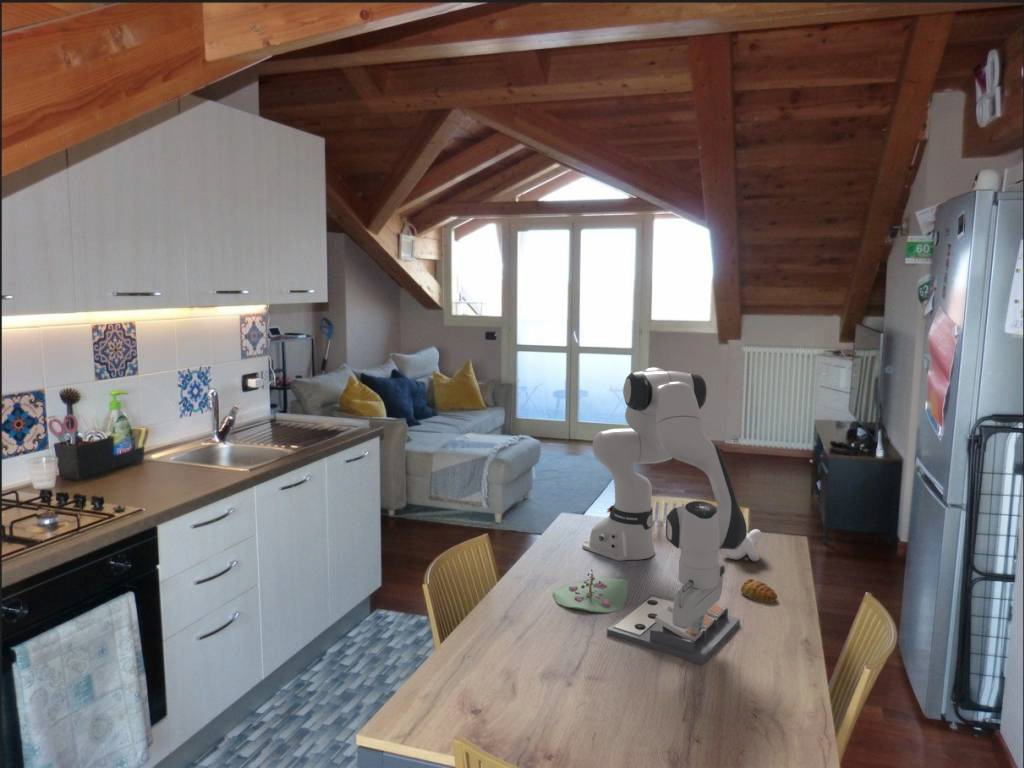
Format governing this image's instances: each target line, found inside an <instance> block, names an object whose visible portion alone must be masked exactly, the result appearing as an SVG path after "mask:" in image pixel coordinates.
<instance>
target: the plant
mask: <svg viewBox="0 0 1024 768" xmlns="http://www.w3.org/2000/svg"><path fill="white" fill-rule="evenodd" d="M590 572H591V573H589V572H588V574H587V576H588V577H589V579H587V580H583V581H579V582H574V583H570V584H566V585H565V584H564V585H562V586H559V587H558V588H556V589H553V591H552V597H553V599H554V601H555V603H556V604H558V605H559V606H562V607H565V608H569V609H573V610H574V609H575V610H580V611H585V612H589V613H590V612H591V613H596V614H597V613H598V614H609V613H615V612H616V611H620V610H621V609H623V608H624V606H625V603H626V601H627V597H628V587H629V581H627V580H626V579H621V578H620V579H618V578H610V577H598V578H599V579H596V576H594V573H593V572H594V570H593V569H590Z"/></svg>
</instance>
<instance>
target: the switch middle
mask: <svg viewBox="0 0 1024 768" xmlns="http://www.w3.org/2000/svg"><path fill="white" fill-rule="evenodd" d="M673 607H674V602H673V603H671V604H670V605H669V606H668V609H667V610H668V611H670V612H671V613H673ZM713 622H714V619H713V618H711V617H709V616H707V615H705V618H704V621H703V629H706V630H707V629H708V628H709V627H710V626H711V625H712V624H713Z"/></svg>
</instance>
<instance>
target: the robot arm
mask: <svg viewBox="0 0 1024 768" xmlns="http://www.w3.org/2000/svg"><path fill="white" fill-rule="evenodd" d="M624 381H625V382H624V384H623V388H622V389H623V390H622V394H623V395H622V396H623V398H624V403H625V404H626V408H625V413H624V416H625V417H624V418H625V421H626V423H627V425H628V426H629V427H620V428H618V427H617V428H610V429H606V430H601V431H598V432H597V433H596V435H595V437H594V438H593V440H592V452H593V455H594V457H595V459H596V460H597V461H598V462H599V463H600V464H602V465H603V467H605V468H607V470H608V471H609V473H610V475H611V477H612V480H613V486H614V503H613V505H610V506H609V508H606V513H609V516H607V517H605V518H603V519H602V520H601V521H599V522H597V523H596V524H595V525H594V526H592V527H593V528H592V529H591V530H590V531H591V532H590V536H589V537H587V539H585V540H584V541H583V542H582V549H585V550H587V551H590V552H592V553H595V554H598V555H601V556H603V557H606V558H608V559H612V560H614V561H618V562H619V561H620V562H621V561H627V560H629V561H630V560H632V561H633V560H635V561H636V560H644V559H645V560H646V559H650V558H652V557H653V556H655V554H656V551H655V545H654V541H653V535H652V533H653V531H652V526H653V520H654V519H653V511H654V510H653V507H652V495H653V494H652V493H653V492H652V491H653V486H652V484H651V481H650V480H649V479H648V478H647V477H646V476H644V475H642V474H640V473H637V472H635V465H640V464H641V465H643V464H645V465H646V464H658V463H663V462H667V461H670V460H672V459H675V460H677V461H679V462H683V463H685V464H688V465H691V466H693V467H695V468H697V469H699V470H701V471H702V472H703V473H704V474H705V475H706V476H707V477H708V479H709V483H710V485H711V489H712V492H713V496H714V498H715V502H716V505H717V506H715V505H714V504H712V503H710V502H707V501H701V500H692V501H689V502H687V503H685V505H684V506H677V507H674V508H672V510H670V511H669V513H668V514H667V515H666V518H665V519H666V521H665V523H666V524H665V537H666V540H667V541H668V542H670V544H672V545H673V547H675V548H676V549H680V556H679V559H678V581H679V583H680V584H682V586H681V588H680V589H679V590H678V591H677V592H676V594H675V596H674V600H673V601H674V607H673V619H672V621H673V624H674V625H675V626H677V627H680V628H684V629H688V628H689V627H690V631H691V633H693V634H698V633H699V632H700V631H701V630H702V629H703V621H704V618H705V615H706V611H707V610H708V609H710V608H711V607H712V606H713V605H714V604H717V602H718V601H719V600H720V599H721V595H722V590H723V583H724V582H723V579H724V576H723V575H724V574H725V573H726V564H723V563H720V558H719V551H720V550H719V549H722V550H723V549H732V550H733V549H735V548H736V547H738V546H739V545H740V544H741V543H742V542H743V541H744V540H745V538H746V534H747V533H748V530H747V529H748V528H747V523H746V519H745V516H744V514H743V511H742V510H741V508H740V504H739V502H738V499H737V497H736V493H735V491H734V490H735V489H734V488H733V484H732V481H731V478H730V474H729V472H728V469H727V465H726V463H725V460H724V456H723V453H722V452H721V450H720V447H719V445H718V444H717V443H715V442H713V441H712V440H711V439H710V438H709V437H708V436H707V433H706V432H705V430H704V428H703V424H702V417H701V412H700V409H701V408H703V406H704V405H705V403H706V399H707V392H708V391H707V384H706V381H705V379H704V377H702V376H701V374H698V373H695V372H690V371H689V372H682V371H675V370H665V369H663V368H659V367H648V368H646V369H643V370H641V371H639V370H638V371H634V372H631V373H629V374H628V375H627V376H626V377H625V380H624Z"/></svg>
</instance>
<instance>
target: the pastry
mask: <svg viewBox="0 0 1024 768" xmlns="http://www.w3.org/2000/svg"><path fill="white" fill-rule="evenodd" d="M740 588H741V589H740V591H741V593H742V594H743V595H744V596H747V597H748V598H749V599H751V598H752V600H755V601H757V600H758V602H761V601H762V603H768V604H770V603H773V602H776V601H777V599H778V594H777V593H776V592H775V590H774V589H772V588H771V587H770V586H768V585H767V583H765V582H762V581H761V580H755V579H753V578H748V579H745V581H744V582H743V583H742V586H741V587H740Z"/></svg>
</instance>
